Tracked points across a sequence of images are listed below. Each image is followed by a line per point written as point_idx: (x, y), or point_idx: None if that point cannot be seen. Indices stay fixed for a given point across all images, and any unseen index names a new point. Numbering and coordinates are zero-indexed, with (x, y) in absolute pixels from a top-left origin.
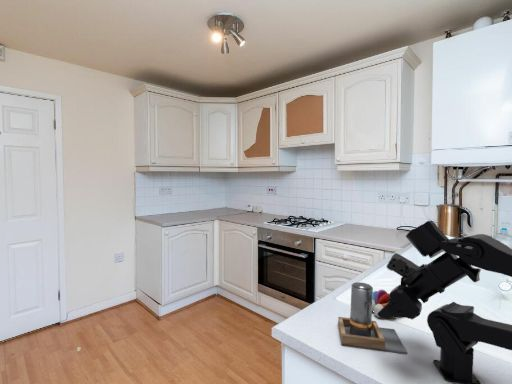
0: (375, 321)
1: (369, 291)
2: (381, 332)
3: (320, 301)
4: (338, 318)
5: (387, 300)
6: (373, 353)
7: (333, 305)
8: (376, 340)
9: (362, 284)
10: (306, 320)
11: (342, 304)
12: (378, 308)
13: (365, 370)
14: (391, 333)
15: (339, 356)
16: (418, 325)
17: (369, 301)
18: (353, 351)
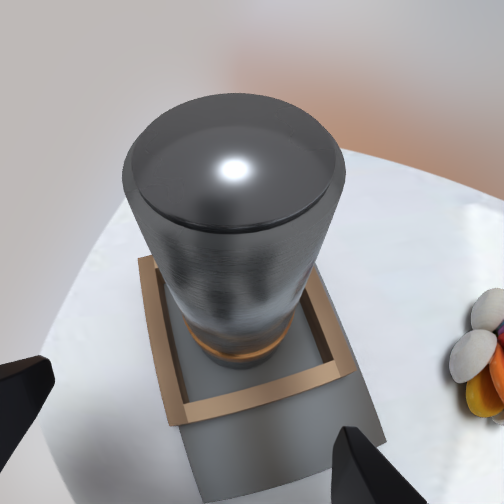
0: (351, 368)
1: (146, 230)
2: (324, 403)
3: (415, 169)
4: None
5: (344, 431)
6: (144, 385)
7: (423, 204)
8: (160, 390)
9: (271, 141)
10: None
11: (452, 227)
12: (470, 349)
13: (49, 356)
14: None
15: (88, 281)
16: (467, 492)
17: (178, 288)
18: (127, 317)
